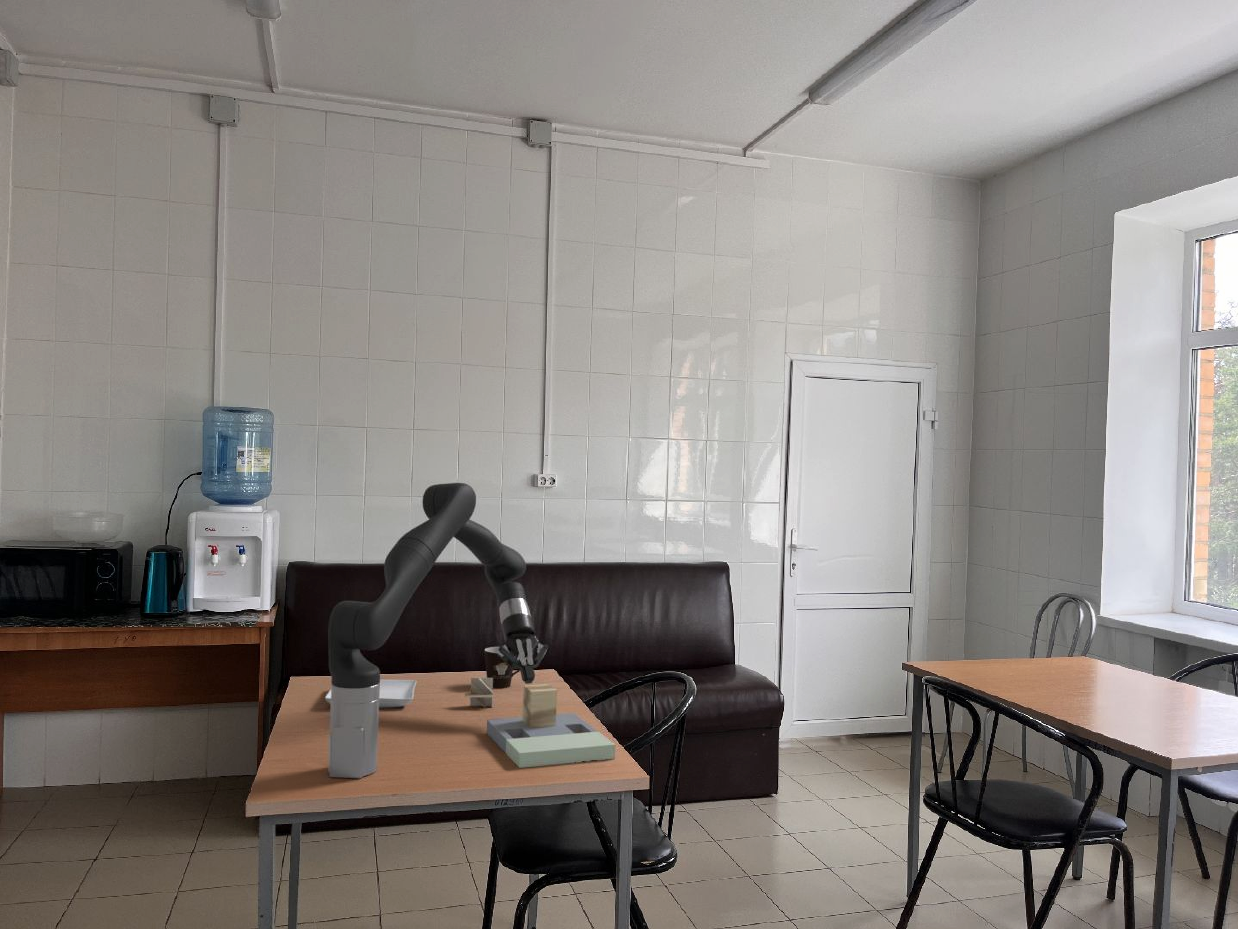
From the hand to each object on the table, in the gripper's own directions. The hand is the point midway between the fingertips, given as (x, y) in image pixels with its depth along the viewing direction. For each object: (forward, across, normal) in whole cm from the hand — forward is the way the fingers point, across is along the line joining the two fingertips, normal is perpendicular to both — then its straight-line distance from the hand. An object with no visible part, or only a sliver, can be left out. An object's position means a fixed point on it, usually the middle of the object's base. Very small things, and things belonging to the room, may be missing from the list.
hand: (529, 681), depth 217 cm
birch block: (+11, 0, 0) cm, 11 cm away
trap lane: (+18, 0, -3) cm, 18 cm away
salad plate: (-17, -31, +32) cm, 48 cm away
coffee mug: (-21, +6, +36) cm, 42 cm away
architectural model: (-7, -6, +23) cm, 24 cm away
